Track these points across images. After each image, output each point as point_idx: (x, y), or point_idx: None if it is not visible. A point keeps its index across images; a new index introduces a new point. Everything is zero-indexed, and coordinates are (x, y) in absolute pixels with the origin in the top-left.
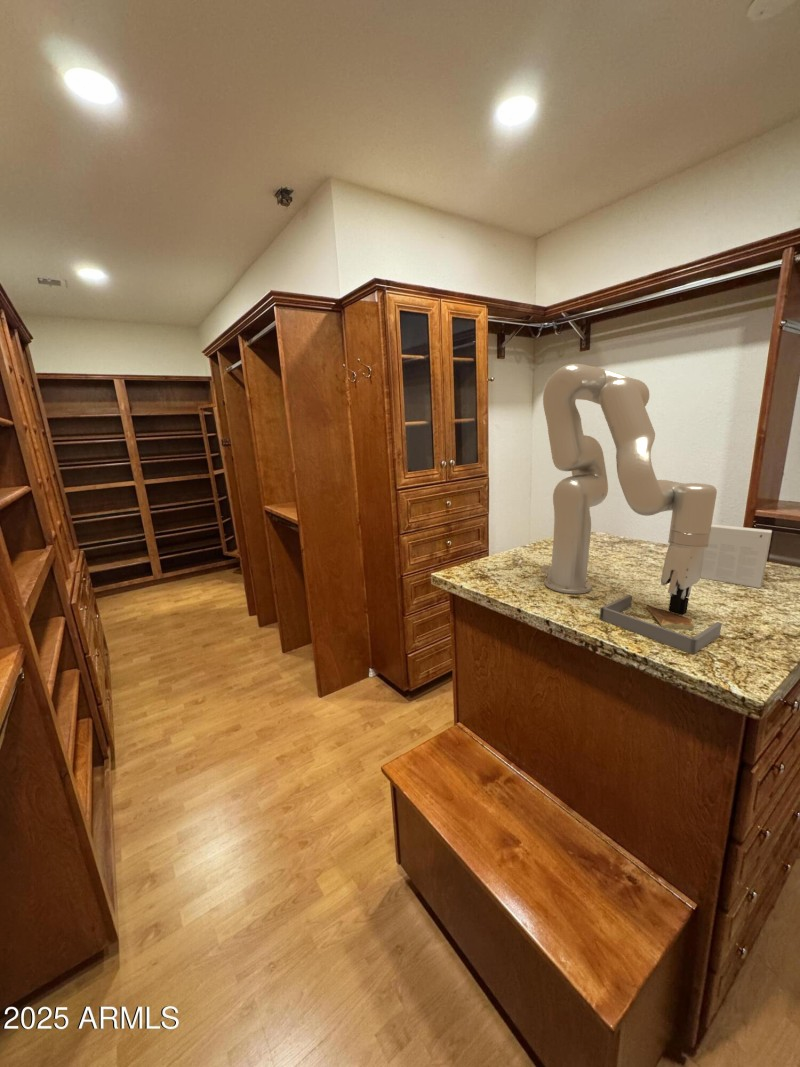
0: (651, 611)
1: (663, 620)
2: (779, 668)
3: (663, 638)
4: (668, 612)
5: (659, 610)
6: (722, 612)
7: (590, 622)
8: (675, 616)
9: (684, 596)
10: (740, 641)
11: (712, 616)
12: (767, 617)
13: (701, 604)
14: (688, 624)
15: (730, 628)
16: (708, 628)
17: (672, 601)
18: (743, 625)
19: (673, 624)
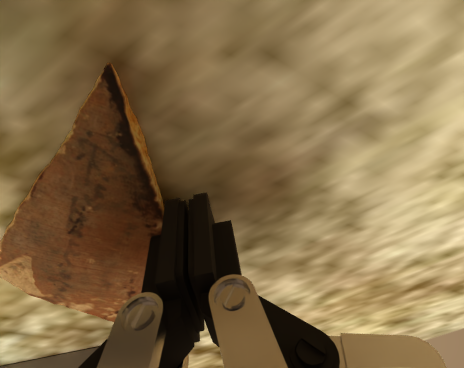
0: (64, 148)
1: (23, 259)
2: None
3: None
4: (140, 213)
5: (114, 175)
6: (406, 248)
7: None
8: (126, 256)
9: (183, 360)
10: (198, 361)
11: (330, 257)
12: (454, 305)
13: (455, 170)
14: (106, 315)
15: None
16: None
17: (144, 276)
18: (327, 317)
19: (40, 296)
